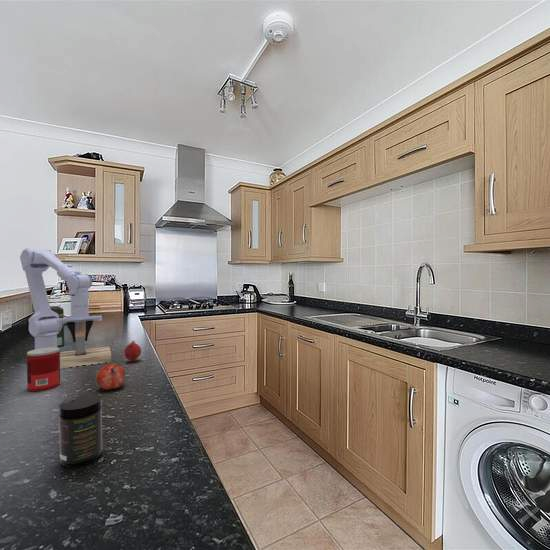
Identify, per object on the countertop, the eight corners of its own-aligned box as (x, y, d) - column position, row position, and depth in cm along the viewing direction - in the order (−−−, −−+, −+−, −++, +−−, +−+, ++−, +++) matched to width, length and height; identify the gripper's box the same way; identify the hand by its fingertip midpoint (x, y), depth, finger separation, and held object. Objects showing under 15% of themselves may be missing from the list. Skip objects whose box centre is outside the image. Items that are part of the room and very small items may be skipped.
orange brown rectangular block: (75, 351, 120) (75, 332, 120) (85, 350, 122) (85, 331, 122) (75, 354, 116) (75, 334, 116) (85, 353, 117) (85, 333, 117)
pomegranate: (94, 395, 91) (93, 383, 84) (99, 371, 96) (98, 358, 89) (122, 394, 94) (123, 382, 87) (125, 371, 99) (126, 358, 92)
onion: (134, 364, 115) (134, 342, 115) (120, 363, 116) (120, 342, 116) (144, 359, 121) (144, 339, 121) (131, 359, 122) (130, 338, 122)
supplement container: (110, 452, 59) (110, 397, 59) (74, 473, 53) (73, 412, 53) (88, 444, 62) (87, 392, 62) (51, 463, 56) (50, 405, 55)
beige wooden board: (50, 361, 120) (50, 353, 120) (109, 353, 130) (108, 346, 130) (46, 371, 108) (46, 362, 108) (111, 361, 118) (111, 354, 118)
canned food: (66, 383, 95) (65, 348, 95) (39, 393, 88) (38, 354, 88) (48, 380, 98) (48, 346, 98) (20, 390, 90) (20, 352, 90)
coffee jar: (43, 345, 146) (42, 306, 146) (63, 342, 151) (62, 304, 151) (44, 349, 138) (43, 307, 138) (65, 346, 143) (64, 306, 143)
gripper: (55, 308, 111) (56, 345, 112) (102, 305, 119) (102, 340, 119) (57, 306, 117) (58, 341, 118) (101, 303, 125) (101, 337, 125)
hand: (80, 341), depth 119 cm, fingers closed on orange brown rectangular block, 3 cm apart
